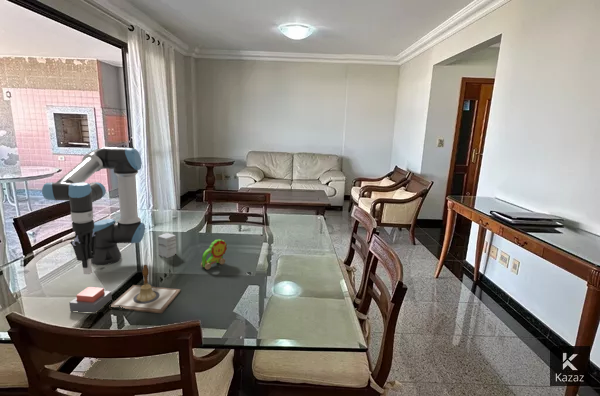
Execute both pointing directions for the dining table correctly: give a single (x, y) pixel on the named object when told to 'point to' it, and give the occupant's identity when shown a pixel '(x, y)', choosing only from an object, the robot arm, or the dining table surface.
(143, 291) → the hand bell
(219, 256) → the toy lion
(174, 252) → the supplement box
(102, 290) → the button
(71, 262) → the dining table surface
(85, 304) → the button housing
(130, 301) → the drawing board
